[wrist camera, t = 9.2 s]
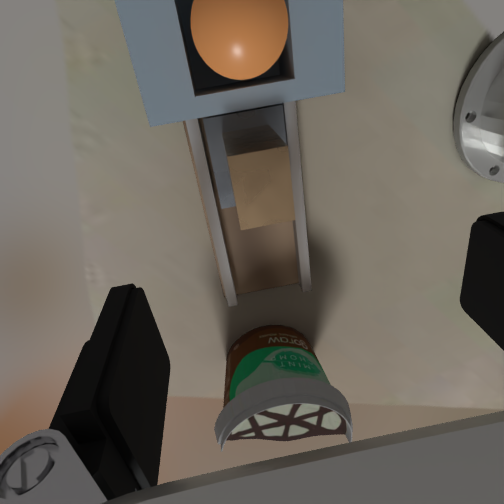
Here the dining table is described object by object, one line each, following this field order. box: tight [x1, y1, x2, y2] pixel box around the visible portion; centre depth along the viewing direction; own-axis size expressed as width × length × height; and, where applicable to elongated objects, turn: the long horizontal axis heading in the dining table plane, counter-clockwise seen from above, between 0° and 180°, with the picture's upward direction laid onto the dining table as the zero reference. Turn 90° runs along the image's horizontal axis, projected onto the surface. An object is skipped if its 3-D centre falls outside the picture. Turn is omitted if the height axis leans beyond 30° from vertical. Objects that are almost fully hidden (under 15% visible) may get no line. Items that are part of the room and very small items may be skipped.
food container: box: [214, 325, 352, 451], centre depth 34 cm, size 12×6×10 cm, turn 85°
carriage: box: [203, 103, 295, 230], centre depth 22 cm, size 5×6×9 cm
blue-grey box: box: [115, 0, 345, 127], centre depth 20 cm, size 10×7×9 cm
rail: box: [183, 101, 312, 307], centre depth 29 cm, size 8×17×3 cm, turn 8°
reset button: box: [191, 0, 288, 80], centre depth 17 cm, size 4×4×4 cm
